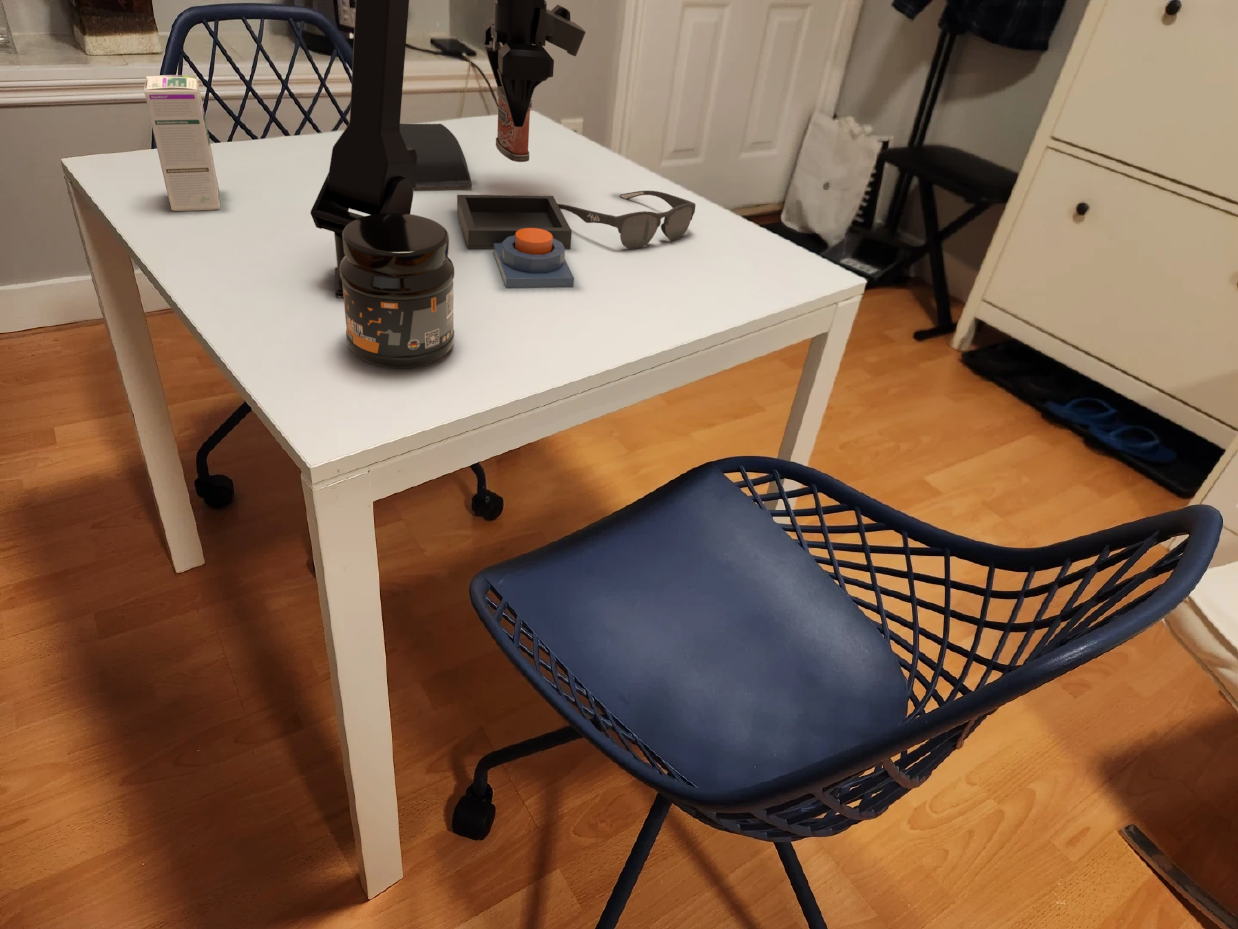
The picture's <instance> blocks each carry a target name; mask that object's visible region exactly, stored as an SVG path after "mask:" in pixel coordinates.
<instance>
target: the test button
mask: <svg viewBox="0 0 1238 929" xmlns="http://www.w3.org/2000/svg"><path fill="white" fill-rule="evenodd" d="M552 241H553V236H552V234H551V233H550V232H548V231H546V230H543V229H538V228H524V229H520V230H518V231H517V232H516V234H515V249H516V250H518V251H520V252H522V253H526V254H531V255H543V254H547V253H550V252H552Z"/></svg>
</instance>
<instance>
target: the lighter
mask: <svg viewBox="0 0 1238 929" xmlns="http://www.w3.org/2000/svg"><path fill="white" fill-rule="evenodd" d="M496 95H497V97H498V98H497V135H496V137H495V147H496V149H497V150H498V152H499V153H500V154H501V155H502V156H504V157H505V158H507V159H508V160H510V161H512V162H515V163H516V162H517V163H527V162H529V161H530V151H529V139H530V118H531V109H532V108H533V107H532V106H533V100H532V99H531V101H530V104H529V108H528V111H527V114H526V118H525V121H524V125H523V126H522V127H515V126H514V123H513V120H512V117H511V114H510V110H509V107H508V104H507V100H506V97H505V93H504V90H503V87H502V86H499V87H496Z"/></svg>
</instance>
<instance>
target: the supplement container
mask: <svg viewBox="0 0 1238 929" xmlns="http://www.w3.org/2000/svg"><path fill="white" fill-rule="evenodd" d="M363 216H364V217H361V218H358V219H356V220H354V221H352V222H350V223H349V224H348V225H347V226H346V227H345V228H344V230H343V233H342V236H343V248H344V254H345V256H344V258H343V259H342V261H341V263H340V276H341V279H342V285H343V296H342V297H343V306H344V317H345V327H346V329H345V338H346V342H347V345H348V347H349V348H350V350H351V351H352V353H354V354H355V355H356V356H357V357H358V358H359V359H362V360H363V361H365V362H368V363H370V364H372V365H376V366H379V367H383V368H390V369H411V368H418V367H422V366H426V365H429V364H432V363H434V362H436V361H438V360H440V359H442V358H443V357H444V356H445V355H446V354H448V353H449V351H450V350H451V349H452V347H453V345H454V342H455V328H454V279H455V276H456V274H455V266H454V263H453V262H452V260H451V259H450V257H449V255H450V237H449V233H448V231H447V228H446V227H444V225H442V224H441V223H439V222H437V221H436V220H433V219H431V218H428V217H425V216H421V215H416V214H411V213H410V214H402V213H382V214H374V215H369V214H367V215H363Z"/></svg>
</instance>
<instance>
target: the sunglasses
mask: <svg viewBox="0 0 1238 929" xmlns="http://www.w3.org/2000/svg"><path fill="white" fill-rule="evenodd" d="M641 196H652V197H656V198H660V199H661V200H663V201H664V202H666V203H667V204H668V205H669V206H670V207H671V209H669V210H668V211H664V212H663V211H662V212H654V211H647V210H645V211H644V210H643V211H635V212H629V213H625V214H621V215H613V214H608V213H607V214H606V213H602V212H597V211H593V210H590V209H589V210H588V209H585V208H580V207H577V206H573V205H569V204H562V203H557V204H558V206H559V208H560V210H564V211H567V212H569V213H572V214H574V215H575V216H577V217H578V218H579V219H581V221H583V222H585V223H586V224H602V225H607V226H610V227H613V228H615V229H617V232H618V234H619V238H620V242H621V244H622V245H623V247H624V248H627V249H630V250H633V249H641V248H643V247H644V246H646V245H648V243H649V242H651V240H653V238H654V236H655V235H656V233H657V230H658V228H659V227H660V230H661V232H662V234H664V236H665V237H666V238H667V239H668V240H669V241H671V242H672V241H676V240H679V239H681V238H682V237H683V236H684V235H685V234H686V232H687V230H688V229H689V227H690V223H691V222H692V221H693V217H694V215H695V213H696V203H695V202H694V201H693V202H692V201H690V200H688V199H685V198H683V197H679V196H676V195H673V194H669V193H666V192H662V191H658V190H637V191H631V192H625V193H621V194H619V198H621V199H623V200H630V199H633V198H637V197H641ZM662 219H663V223H662Z"/></svg>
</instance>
